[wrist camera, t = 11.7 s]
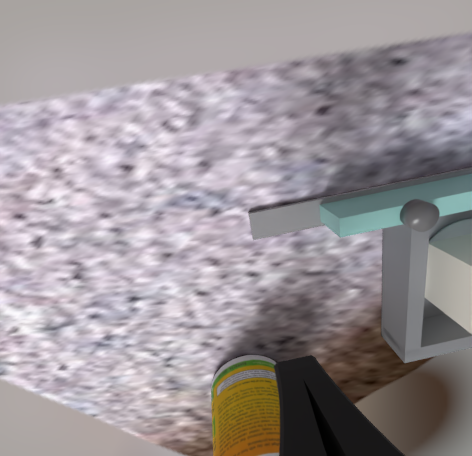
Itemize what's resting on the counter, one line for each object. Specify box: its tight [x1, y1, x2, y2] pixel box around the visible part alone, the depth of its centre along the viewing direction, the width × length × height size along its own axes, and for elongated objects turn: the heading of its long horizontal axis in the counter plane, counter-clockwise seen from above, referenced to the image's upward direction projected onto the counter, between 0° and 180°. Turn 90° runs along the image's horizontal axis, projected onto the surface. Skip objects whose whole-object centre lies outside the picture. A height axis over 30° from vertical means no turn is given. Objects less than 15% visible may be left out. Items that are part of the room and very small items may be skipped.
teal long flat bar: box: [319, 174, 472, 237], centre depth 15 cm, size 13×1×3 cm, turn 101°
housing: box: [248, 167, 472, 363], centre depth 17 cm, size 18×11×2 cm, turn 101°
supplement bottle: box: [211, 355, 280, 456], centre depth 16 cm, size 5×5×10 cm
